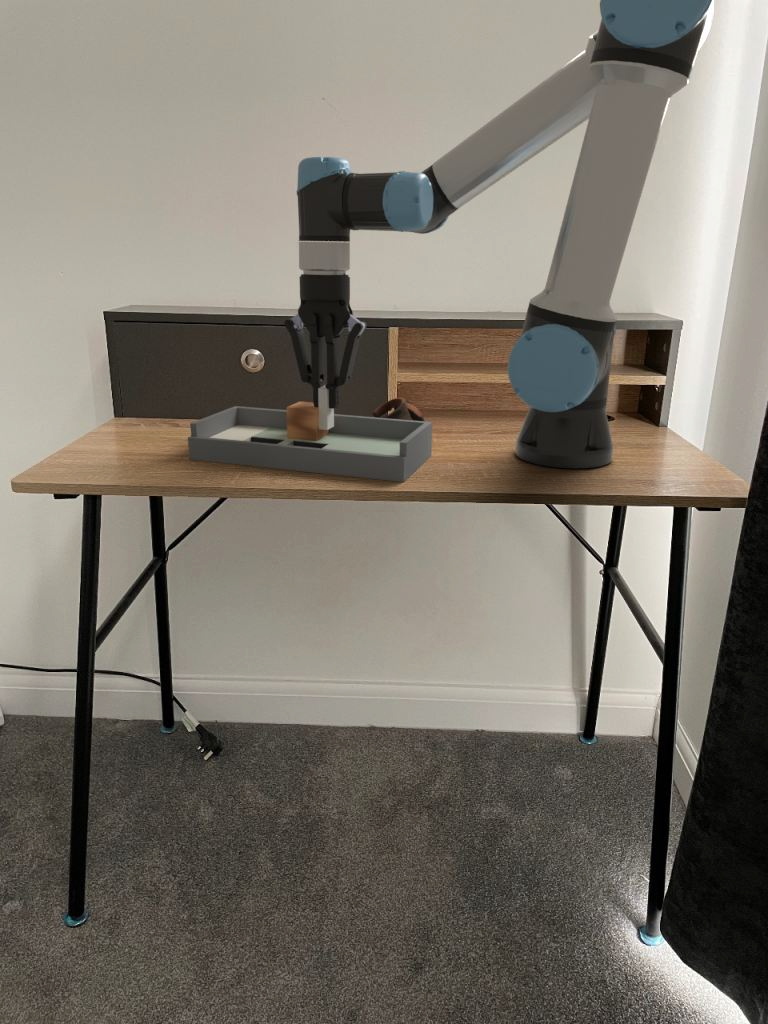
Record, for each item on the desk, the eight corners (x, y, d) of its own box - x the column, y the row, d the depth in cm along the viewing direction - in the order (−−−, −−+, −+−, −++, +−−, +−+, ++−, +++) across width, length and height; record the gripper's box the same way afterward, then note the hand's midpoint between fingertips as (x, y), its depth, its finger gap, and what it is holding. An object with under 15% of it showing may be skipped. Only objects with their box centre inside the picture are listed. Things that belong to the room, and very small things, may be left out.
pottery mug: (429, 450, 124) (406, 409, 120) (381, 469, 128) (357, 431, 124) (437, 417, 134) (416, 379, 130) (392, 436, 137) (370, 399, 134)
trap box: (431, 455, 118) (432, 422, 117) (403, 482, 105) (404, 444, 103) (237, 437, 129) (235, 406, 127) (189, 459, 115) (186, 424, 114)
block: (328, 433, 121) (328, 403, 119) (316, 441, 117) (315, 409, 115) (300, 431, 123) (299, 401, 121) (287, 438, 118) (286, 407, 116)
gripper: (374, 273, 112) (372, 426, 120) (295, 270, 115) (299, 419, 123) (356, 274, 105) (356, 436, 113) (273, 272, 109) (279, 429, 117)
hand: (326, 427), depth 118 cm, fingers closed
